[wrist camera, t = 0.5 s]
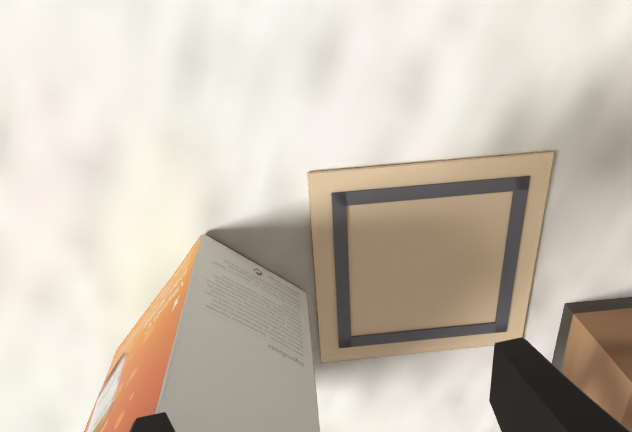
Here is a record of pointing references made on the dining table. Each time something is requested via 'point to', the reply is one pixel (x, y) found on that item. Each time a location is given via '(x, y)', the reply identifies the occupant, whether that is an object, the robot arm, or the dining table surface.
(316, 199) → the card sheet
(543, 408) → the robot arm
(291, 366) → the small box
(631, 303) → the stamp
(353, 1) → the dining table surface
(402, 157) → the dining table surface
